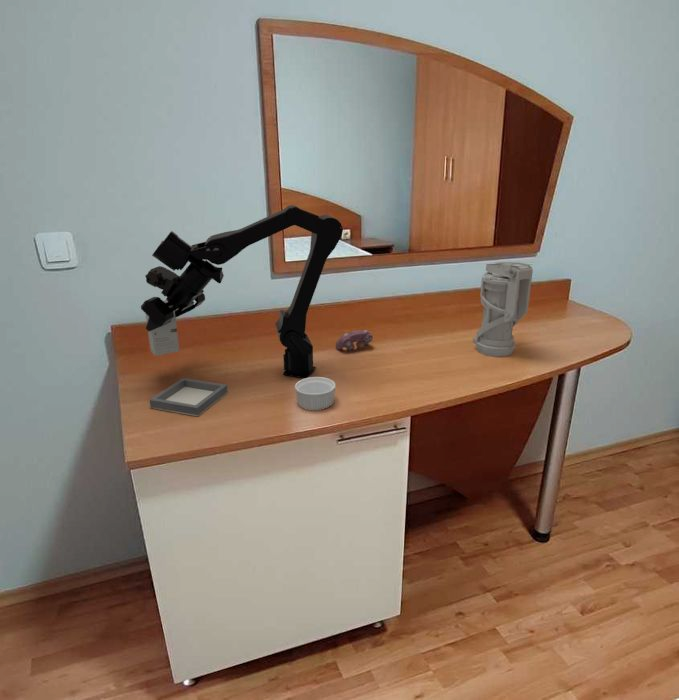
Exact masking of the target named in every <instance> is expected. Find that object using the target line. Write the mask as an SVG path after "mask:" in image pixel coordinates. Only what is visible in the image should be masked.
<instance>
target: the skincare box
mask: <svg viewBox="0 0 679 700" xmlns="http://www.w3.org/2000/svg"><path fill="white" fill-rule="evenodd" d="M162 301H163V302H164V303H167V302H168V301H167V300H166V299H165V300H162ZM173 313H174V317H173V319H172V320H171V322H169V323H168V324H166V325H163V326H162V327H159V328H156V329H154V330H152V331H148V330H147V333H148V335H147V336H148V341H149V342H148V343H149V348H150V351H151V353H152V354H153V355H154V356H155V357H156V356H161V355H167V354H172V353H178V352H180V346H179V336H178V327H177V321H176V320H177V317H176V318H175V311H174V312H173ZM144 314H145V319H146V324H147V323H148V319H149V316H148V315H147V314H146V313H145V312H144Z"/></svg>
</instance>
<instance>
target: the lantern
mask: <svg viewBox="0 0 679 700" xmlns="http://www.w3.org/2000/svg"><path fill="white" fill-rule="evenodd" d="M485 265H486V266H485V271H486V272H485V273H484V274H482V275H481V283H480V293H479V294H480V295H479V296H480V304H481V305H482V306H483V310H482V320H481V321H482V322H481V328H479V329H478V330H477V331H476V335H475V336H476V337H475V338H472V343H473V344H475V346H476V351H477V352H478V353H480V354H482V355H485V356H489V357H494V358H495V357H496V358H497V357H498V358H501V357H502V358H503V357H508V356H511V355H512V354H513V353H514V350H515V348H516V342H515V341H514V340H515V339H514V338H515V336H514V335H513V327H515V326H516V325H517V324H518V322H519V321H520V320H521V319H523V318H524V317H525V315H526V314H527V313H528V312H529V304H530V296H531V288H532V287H531V286H532V280H533V279H532V278H533V271H534V269H533V266H532V265H533V264H530V263H525V262H520V261H519V262H518V261H506V262H505V261H504V262H503V261H502V262H501V261H499V262H495V263H486V264H485Z"/></svg>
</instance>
